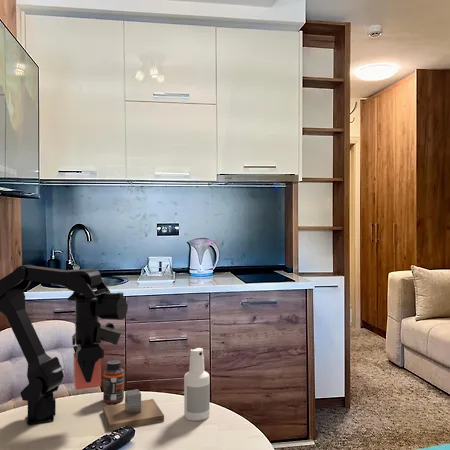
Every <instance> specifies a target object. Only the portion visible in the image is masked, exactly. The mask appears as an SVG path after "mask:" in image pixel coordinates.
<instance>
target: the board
mask: <svg viewBox="0 0 450 450" xmlns="http://www.w3.org/2000/svg"><path fill="white" fill-rule="evenodd" d="M102 413H103V415H104V419H105V421H106V424H107V426H108V430H109V431H116V430H119V429H118V428H121V427H124V426H130V427H129V428H133V427H138V426H142V425H149V424H154V423H155V424H156V423H161V422H165V414H164V413H163V412H162V410H161V408H160V407H159V406H158V404H157V402H156V401H155V399H154V398H151V399H144V400H143V399H142V400H141V412H140V413H134V414H128V415H127V412H126V410H125V402H124V403H120V404H119V403H117V404H112V405H106V406H103V412H102Z"/></svg>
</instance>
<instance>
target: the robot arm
mask: <svg viewBox="0 0 450 450" xmlns="http://www.w3.org/2000/svg"><path fill="white" fill-rule="evenodd" d="M32 282H36V283H43V284H51V285H58V286H61V287H65V289H67V290H68V291H71V292H72V294H71V295H69V297H67V301H70V302H72V301H73V302H75V304H74V305H75V307H74V308H75V309H74V313H75V315H74V316H75V317H74V318H75V320H74V327H75V333H73V335H72V336H71V344H72V349H73V352H74V353H76V359H77V361H78V364H79V366H80V369H81V371H82V373H83V376H84V378H85V381H86V382H87V383H88V382H91V379H92V374H93V370H94V366H95V363H96V362H97V361H98V360H99V359H101V360H102V359H104V358H105V356H104V355H105V350H104V348H103V346H102V345H101V343H102V341H103V342H107V343H109V344H110V343H111V344H113V345H114V346H117V345H119V341H120V338H121V334H122V331H120V330H119V329H117V328H115V325H114V323H111V322H107V323H106V324H105V325H101V323H100V321H99V319H100V320H101V319H102V320H114V321H115V320H116V321H123V320H124V319H125V318H126V316H127V314H128V308H129V307H128V306H129V305H128V302H127V299H126V297H124V292H120V291H119V292H111V290H110V289H109V287H108V286H107V285H106V283H105V282H104V280H103V278H102V275H101V273H100V271H99V270H98V269H96V268H86V269H83V268H82V269H74V270H73V269H72V270H68V269H67V270H66V269H60V268H53V267H46V266H36V265H33V264H24V265H20V266H17V267H16V268H15V269H14V270H13V271H11V272H10V273H9V274H7V275H6V276H4V277H2V278H1V279H0V313H1V314H3V315H4V316H5V317H6V320H7V321H8V323H9V326H10V328H11V331H12V332H13V334H14V337H15V340H16V341H17V343H18V345H19V348H20V350H21V353H22V354H23V356H24V358H25V360H26V362H27V371H26V376H27V382H28V384H27V385H25V387H24V388H23V390H21V391H20V397H21V400H22V401H23V402H24V401H27V415H26V425H28V426H29V425H35V424H40V423H41V424H42V423H49V422H53V421H54V420H55V418H54V417H55V416H56V413H57V412H56V407H57V406H56V403H57V402H56V397H55V396H54V392H57V391H58V389H59V387H60V385H61V384H62V382H63V380H64V377H65V376H64V375H65V374H64V370H65V369H64V368H63V367H62V365H61V363H60V359H59V358H58V356H54V357H51V356H49V355H48V354H47V352H46V350H45V348H44V346H43V344H42V342H41V340H40V338H39V336H38V333H37V332H36V330H35V327H34V325H33V323H32V321H31V319H30V316H29V314H28V313H27V311H26V307H25V302H26V295H25V290H26V289H28V288H29V286H30V285H31V283H32Z"/></svg>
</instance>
